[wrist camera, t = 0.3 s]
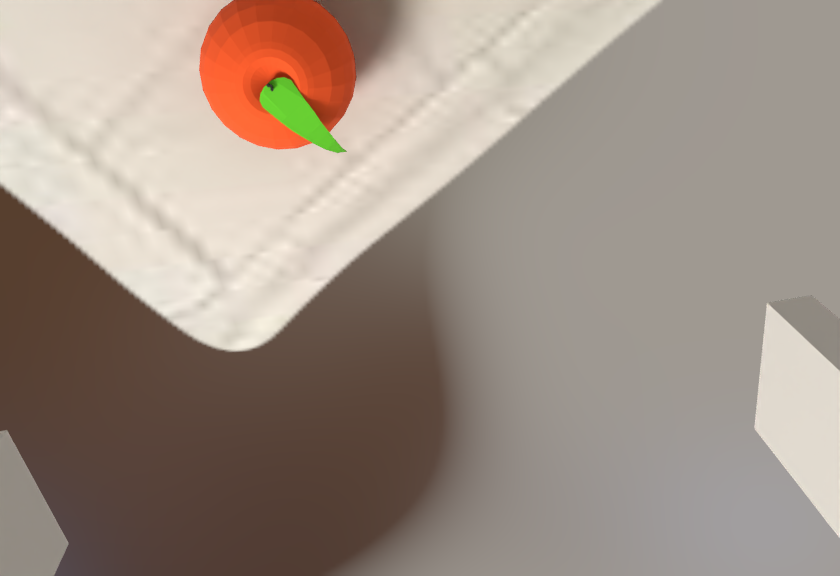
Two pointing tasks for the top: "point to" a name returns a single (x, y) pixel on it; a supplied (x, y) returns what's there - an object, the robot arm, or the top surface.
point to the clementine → (278, 72)
